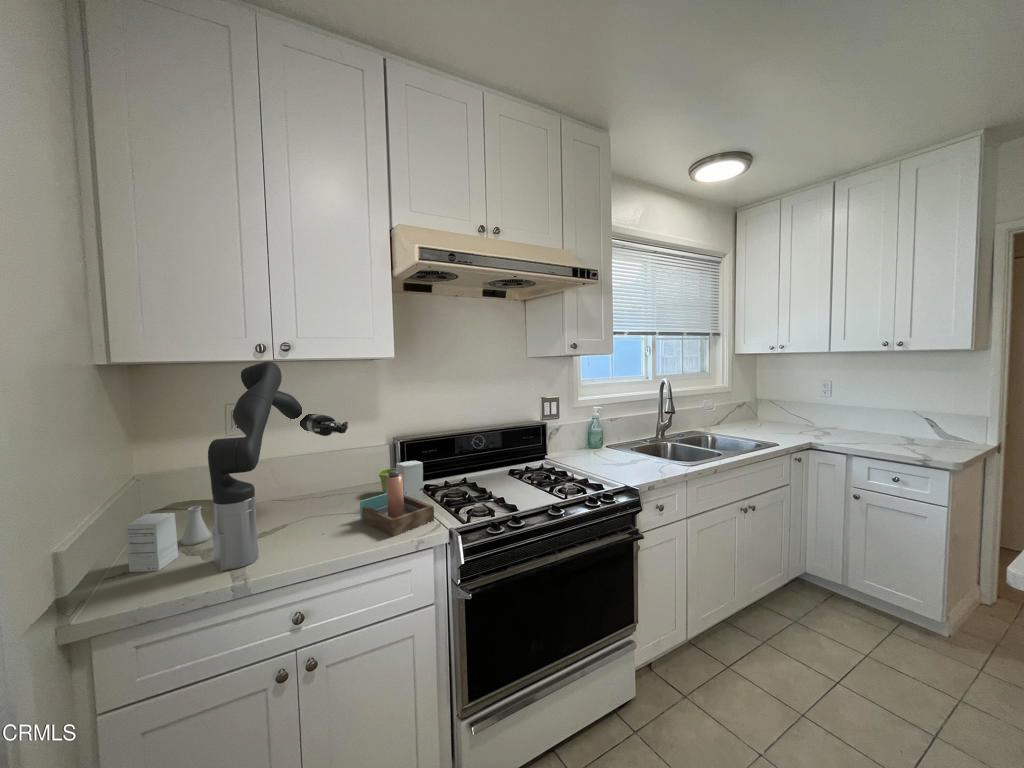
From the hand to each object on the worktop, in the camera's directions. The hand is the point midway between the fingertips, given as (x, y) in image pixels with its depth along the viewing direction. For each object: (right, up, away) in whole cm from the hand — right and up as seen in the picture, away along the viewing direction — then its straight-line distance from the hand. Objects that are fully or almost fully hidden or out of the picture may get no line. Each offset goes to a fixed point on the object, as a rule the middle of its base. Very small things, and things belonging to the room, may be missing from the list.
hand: (343, 430), depth 148 cm
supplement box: (-35, -32, -38) cm, 60 cm away
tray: (+21, -28, -9) cm, 36 cm away
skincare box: (+22, -28, +7) cm, 36 cm away
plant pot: (+12, -27, +17) cm, 34 cm away
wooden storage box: (+22, -29, -11) cm, 38 cm away
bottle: (+21, -27, -10) cm, 36 cm away
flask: (-34, -30, -23) cm, 51 cm away
